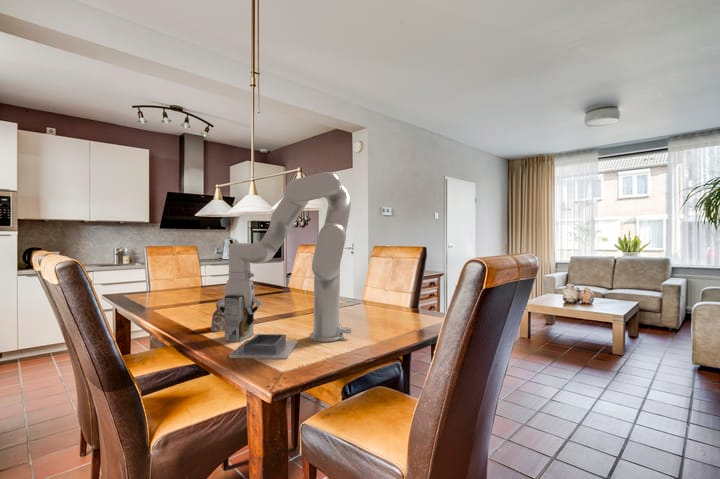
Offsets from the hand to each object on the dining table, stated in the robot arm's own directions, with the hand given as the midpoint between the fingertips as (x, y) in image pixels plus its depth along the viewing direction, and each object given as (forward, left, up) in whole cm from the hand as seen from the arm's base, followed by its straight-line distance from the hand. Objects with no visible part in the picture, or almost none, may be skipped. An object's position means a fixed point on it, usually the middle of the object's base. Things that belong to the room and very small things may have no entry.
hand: (239, 324), depth 131 cm
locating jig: (-14, +14, -5) cm, 20 cm away
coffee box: (0, 0, -5) cm, 5 cm away
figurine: (+12, -12, -5) cm, 18 cm away
